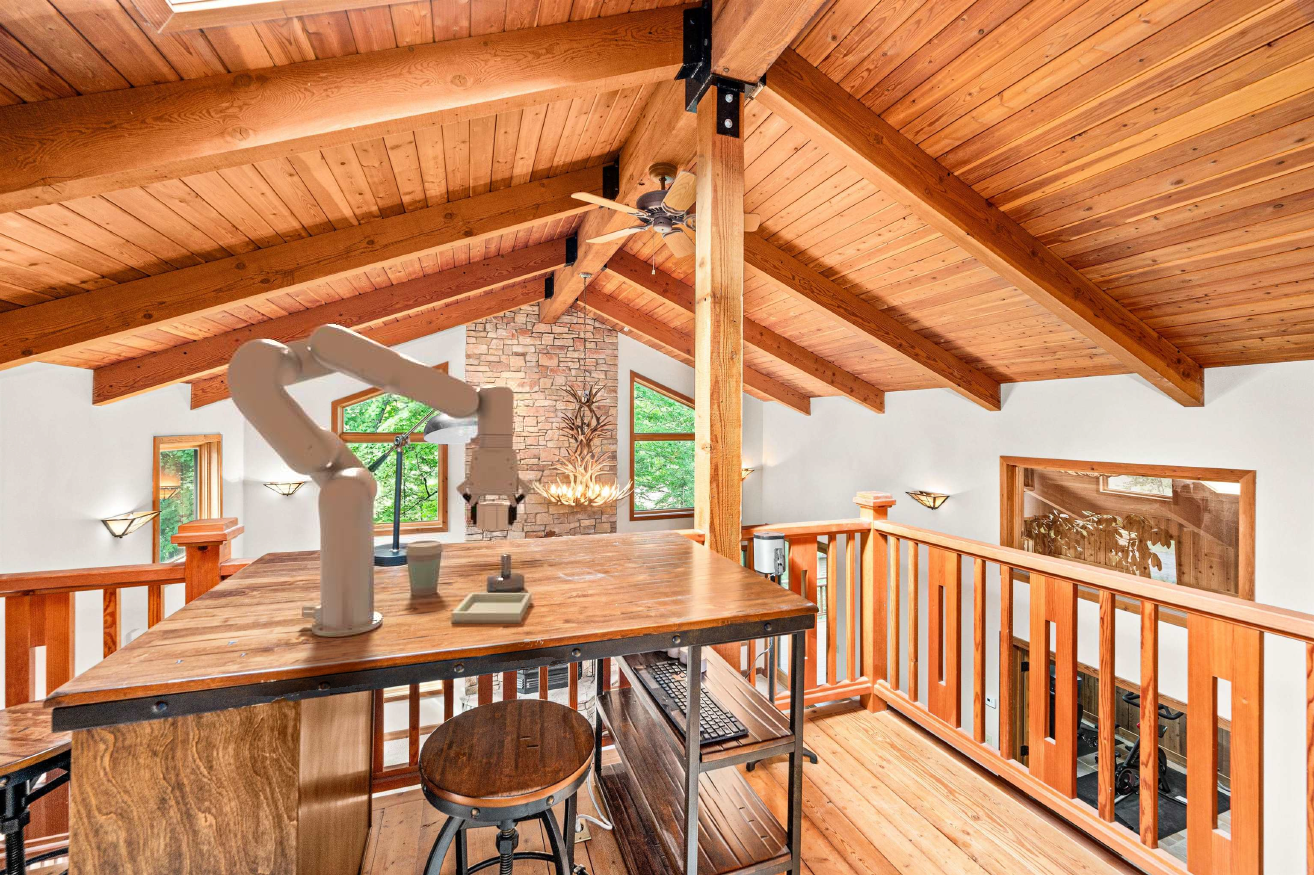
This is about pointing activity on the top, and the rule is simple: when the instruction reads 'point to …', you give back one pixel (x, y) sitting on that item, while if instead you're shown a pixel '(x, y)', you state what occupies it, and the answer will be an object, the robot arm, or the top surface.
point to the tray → (492, 608)
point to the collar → (493, 515)
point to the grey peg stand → (505, 579)
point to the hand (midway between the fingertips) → (493, 523)
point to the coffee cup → (424, 566)
